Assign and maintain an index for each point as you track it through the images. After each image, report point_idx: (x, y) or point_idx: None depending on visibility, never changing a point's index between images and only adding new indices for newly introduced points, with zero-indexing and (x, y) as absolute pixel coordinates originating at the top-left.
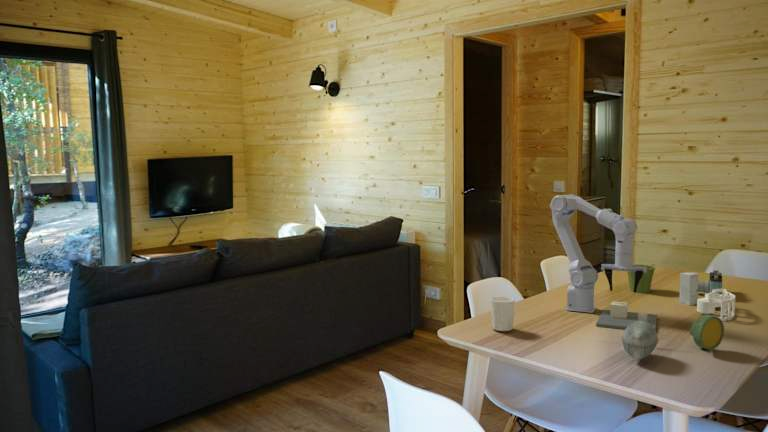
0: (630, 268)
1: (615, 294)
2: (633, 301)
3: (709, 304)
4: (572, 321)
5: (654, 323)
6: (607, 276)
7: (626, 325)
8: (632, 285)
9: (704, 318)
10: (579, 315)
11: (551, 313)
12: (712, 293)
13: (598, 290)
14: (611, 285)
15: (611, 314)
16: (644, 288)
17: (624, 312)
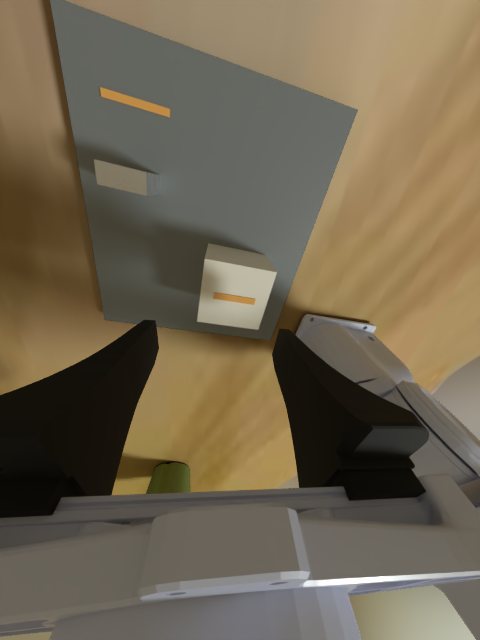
0: (78, 560)
1: (219, 455)
2: (184, 427)
3: None
4: (415, 193)
5: (87, 180)
6: (370, 394)
7: (214, 95)
8: (184, 483)
9: None
10: (352, 286)
11: (432, 290)
12: None
13: (247, 466)
14: (297, 346)
15: (263, 257)
16: (160, 478)
17: (214, 251)
